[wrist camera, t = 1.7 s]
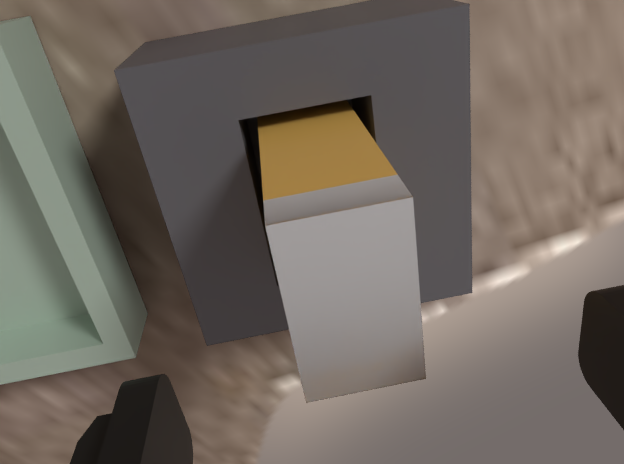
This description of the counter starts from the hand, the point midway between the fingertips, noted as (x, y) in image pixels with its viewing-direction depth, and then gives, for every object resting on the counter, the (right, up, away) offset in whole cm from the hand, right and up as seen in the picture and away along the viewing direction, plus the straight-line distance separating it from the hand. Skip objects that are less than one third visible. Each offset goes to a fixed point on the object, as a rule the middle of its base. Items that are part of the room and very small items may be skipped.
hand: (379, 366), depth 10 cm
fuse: (-2, +6, +10) cm, 12 cm away
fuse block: (-2, +6, +11) cm, 13 cm away
